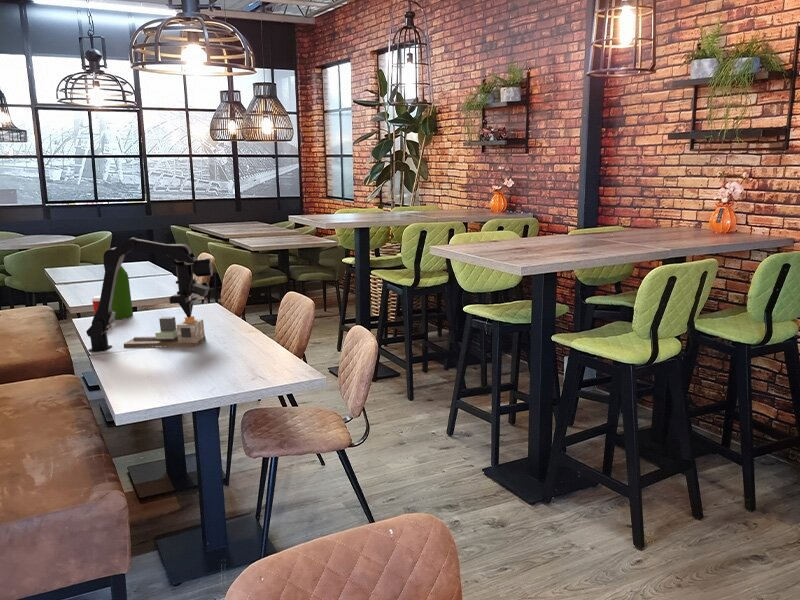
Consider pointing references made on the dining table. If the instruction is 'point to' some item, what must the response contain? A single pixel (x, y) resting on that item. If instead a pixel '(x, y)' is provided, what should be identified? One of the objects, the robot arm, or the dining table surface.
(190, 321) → the button
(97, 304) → the paper cup
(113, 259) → the robot arm
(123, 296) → the wine bottle
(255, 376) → the dining table surface
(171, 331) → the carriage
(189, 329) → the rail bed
